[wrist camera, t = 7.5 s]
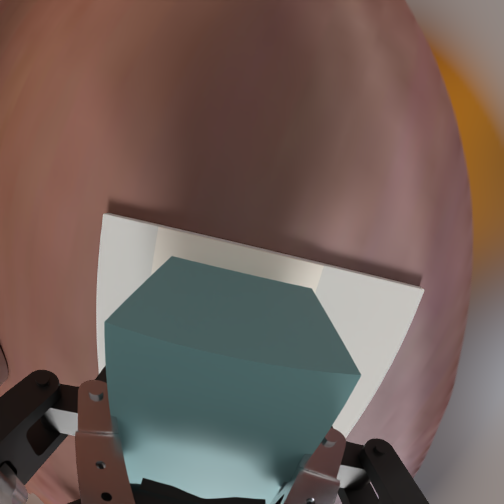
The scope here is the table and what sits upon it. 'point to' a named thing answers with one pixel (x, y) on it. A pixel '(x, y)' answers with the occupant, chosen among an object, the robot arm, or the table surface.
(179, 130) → the table surface
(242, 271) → the mat
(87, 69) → the table surface
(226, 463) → the card box
